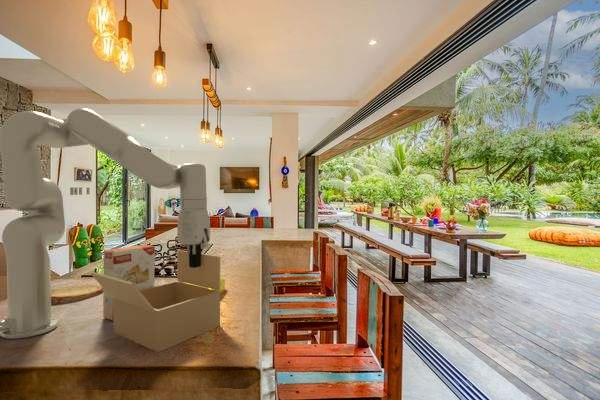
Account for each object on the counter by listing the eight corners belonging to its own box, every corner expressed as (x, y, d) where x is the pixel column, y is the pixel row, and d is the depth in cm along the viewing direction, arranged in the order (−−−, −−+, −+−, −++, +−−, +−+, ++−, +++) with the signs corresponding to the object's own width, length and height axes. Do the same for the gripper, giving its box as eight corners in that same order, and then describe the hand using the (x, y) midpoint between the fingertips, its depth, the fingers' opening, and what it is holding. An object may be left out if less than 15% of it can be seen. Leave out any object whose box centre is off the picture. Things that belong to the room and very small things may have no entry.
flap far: (177, 280, 111) (178, 280, 111) (218, 290, 100) (220, 290, 100) (177, 250, 110) (178, 250, 111) (219, 256, 100) (220, 256, 100)
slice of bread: (108, 290, 136) (108, 280, 136) (85, 305, 119) (84, 294, 118) (59, 291, 134) (59, 281, 134) (28, 306, 117) (28, 295, 116)
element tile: (174, 301, 124) (174, 287, 124) (188, 289, 139) (188, 277, 139) (216, 301, 124) (216, 287, 124) (225, 289, 139) (225, 277, 139)
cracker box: (113, 322, 102) (113, 251, 102) (102, 318, 106) (102, 249, 105) (155, 308, 114) (155, 245, 114) (144, 305, 117) (144, 243, 117)
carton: (157, 352, 83) (157, 311, 83) (113, 332, 95) (113, 296, 94) (220, 325, 100) (220, 291, 100) (176, 311, 111) (176, 280, 111)
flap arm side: (155, 310, 83) (154, 312, 83) (114, 296, 94) (112, 298, 94) (132, 282, 78) (131, 284, 78) (91, 271, 89) (89, 272, 89)
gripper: (167, 205, 104) (169, 266, 105) (199, 206, 96) (201, 272, 96) (188, 204, 110) (189, 261, 111) (220, 205, 102) (222, 267, 102)
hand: (195, 266), depth 104 cm, fingers closed
